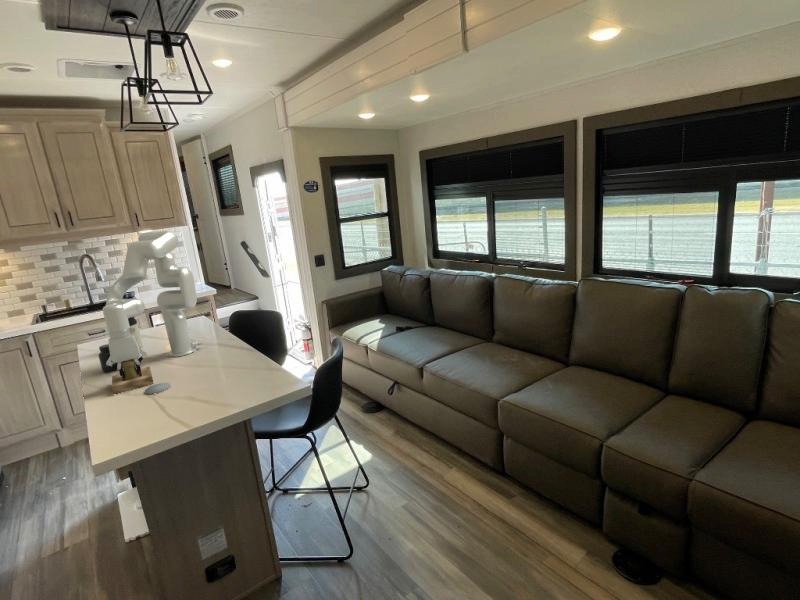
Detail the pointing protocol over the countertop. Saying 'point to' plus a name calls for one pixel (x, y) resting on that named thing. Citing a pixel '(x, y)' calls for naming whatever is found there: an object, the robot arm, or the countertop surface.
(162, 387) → the coaster
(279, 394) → the countertop surface
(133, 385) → the socket ring
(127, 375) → the cork
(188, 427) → the countertop surface
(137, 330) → the travel mug
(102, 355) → the supplement bottle
